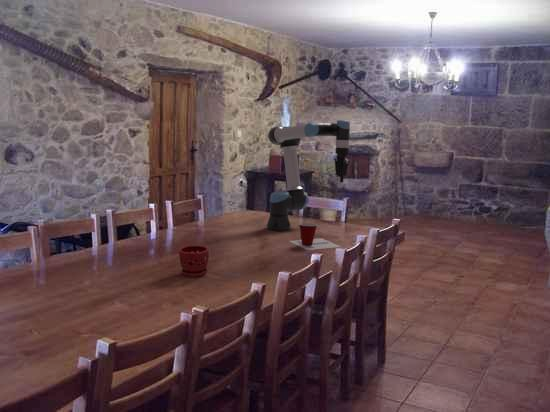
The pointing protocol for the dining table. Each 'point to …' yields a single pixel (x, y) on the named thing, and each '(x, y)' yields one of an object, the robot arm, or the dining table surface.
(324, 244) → the placemat
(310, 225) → the plastic cup
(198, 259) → the plant pot
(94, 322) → the dining table surface
